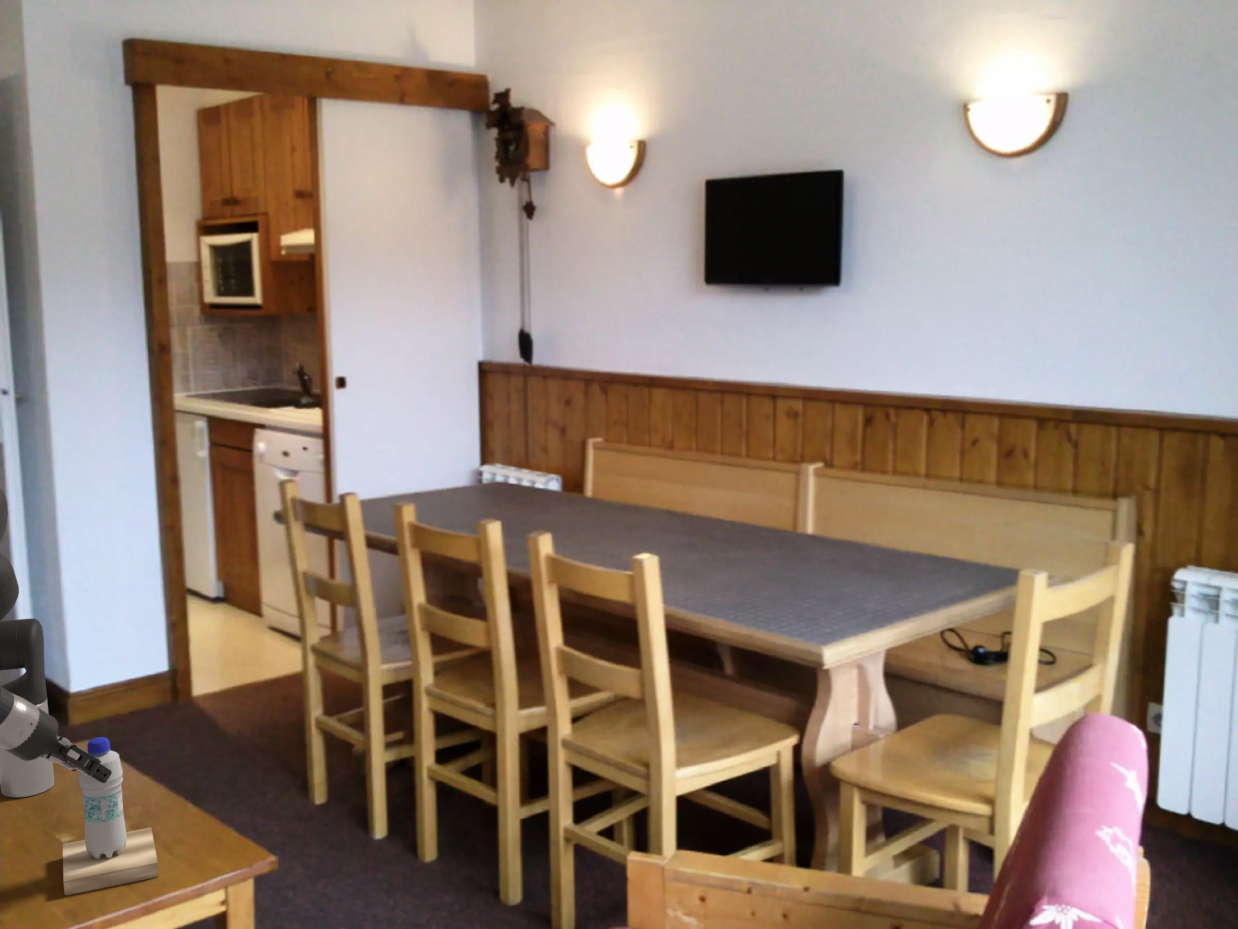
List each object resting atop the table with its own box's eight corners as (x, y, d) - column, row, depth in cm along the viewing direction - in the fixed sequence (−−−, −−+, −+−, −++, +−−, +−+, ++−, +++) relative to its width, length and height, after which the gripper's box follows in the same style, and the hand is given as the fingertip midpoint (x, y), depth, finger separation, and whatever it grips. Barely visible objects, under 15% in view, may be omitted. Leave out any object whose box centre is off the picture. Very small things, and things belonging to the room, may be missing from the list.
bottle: (132, 856, 198) (123, 740, 195) (88, 866, 195) (78, 749, 192) (125, 840, 204) (116, 727, 201) (82, 849, 201) (73, 735, 197)
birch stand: (63, 857, 203) (62, 844, 203) (152, 841, 209) (151, 827, 208) (64, 896, 191) (63, 881, 190) (158, 876, 196) (157, 862, 196)
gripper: (58, 713, 182) (131, 760, 193) (8, 695, 190) (81, 741, 201) (27, 758, 179) (104, 803, 190) (-23, 738, 187) (53, 782, 198)
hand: (92, 771), depth 195 cm, fingers open, 8 cm apart
